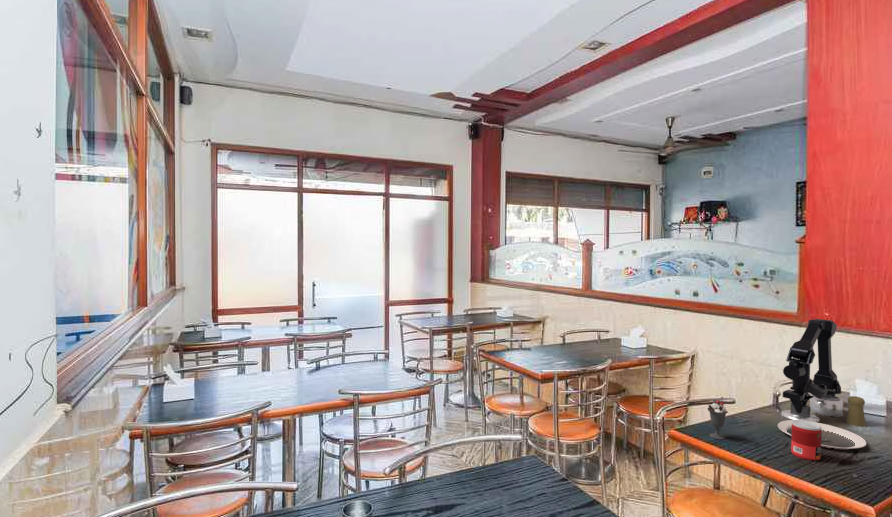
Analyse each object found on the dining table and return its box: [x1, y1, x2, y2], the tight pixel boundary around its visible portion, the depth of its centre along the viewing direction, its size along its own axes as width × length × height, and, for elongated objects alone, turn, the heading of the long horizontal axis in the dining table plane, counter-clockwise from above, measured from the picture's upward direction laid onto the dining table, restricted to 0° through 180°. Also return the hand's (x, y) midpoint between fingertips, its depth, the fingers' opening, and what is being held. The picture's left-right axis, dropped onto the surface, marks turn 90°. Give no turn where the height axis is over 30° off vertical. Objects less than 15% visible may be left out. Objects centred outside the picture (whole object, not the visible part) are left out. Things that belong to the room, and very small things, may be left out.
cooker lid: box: [781, 402, 820, 423], centre depth 190 cm, size 13×13×6 cm
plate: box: [777, 419, 867, 450], centre depth 170 cm, size 26×26×2 cm
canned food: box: [790, 420, 823, 462], centre depth 154 cm, size 8×8×11 cm
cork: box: [845, 395, 867, 428], centre depth 183 cm, size 6×6×11 cm
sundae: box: [707, 396, 729, 441], centre depth 169 cm, size 7×7×15 cm
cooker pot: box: [809, 393, 844, 418], centre depth 196 cm, size 11×11×7 cm
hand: (800, 412), depth 190 cm, fingers closed on cooker lid, 2 cm apart
